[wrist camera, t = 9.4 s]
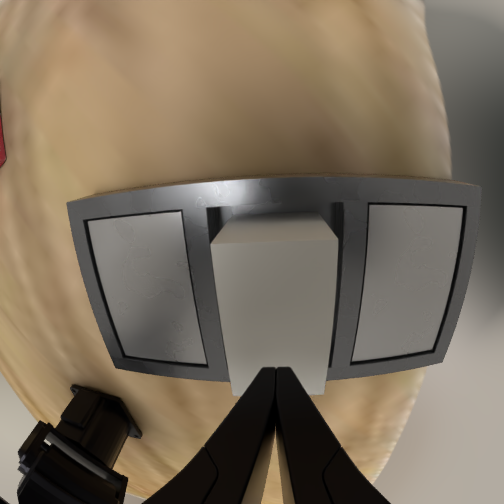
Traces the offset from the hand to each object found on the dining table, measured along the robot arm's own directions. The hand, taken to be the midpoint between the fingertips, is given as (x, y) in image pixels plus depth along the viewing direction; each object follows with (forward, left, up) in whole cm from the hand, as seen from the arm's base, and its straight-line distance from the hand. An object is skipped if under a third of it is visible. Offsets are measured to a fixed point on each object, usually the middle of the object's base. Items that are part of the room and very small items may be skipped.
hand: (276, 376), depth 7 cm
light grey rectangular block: (0, 0, -7) cm, 7 cm away
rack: (0, 0, -7) cm, 7 cm away
